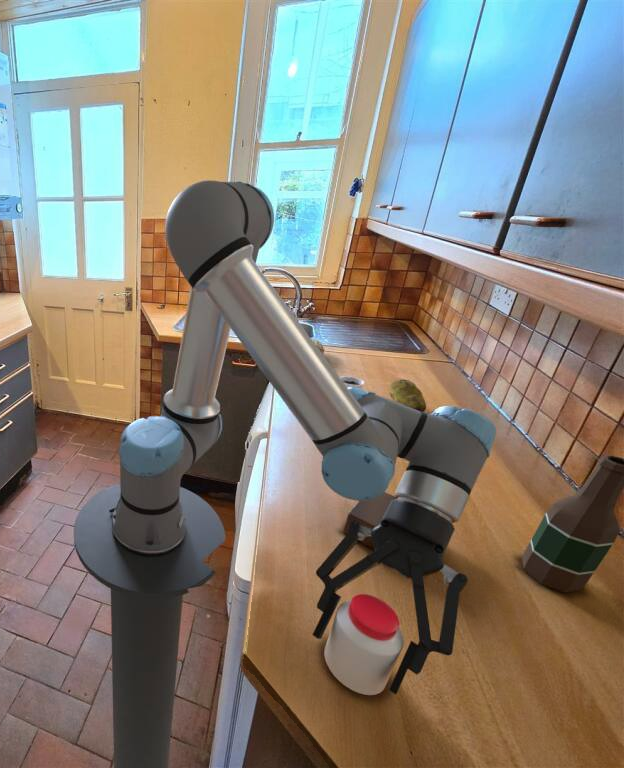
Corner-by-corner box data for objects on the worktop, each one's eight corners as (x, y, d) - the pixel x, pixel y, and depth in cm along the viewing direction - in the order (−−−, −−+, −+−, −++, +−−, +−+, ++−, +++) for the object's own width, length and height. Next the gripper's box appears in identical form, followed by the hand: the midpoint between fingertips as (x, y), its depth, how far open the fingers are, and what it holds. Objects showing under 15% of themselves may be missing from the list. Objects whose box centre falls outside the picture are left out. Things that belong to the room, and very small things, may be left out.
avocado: (392, 414, 123) (400, 391, 120) (383, 397, 134) (390, 374, 130) (425, 419, 120) (433, 395, 117) (413, 401, 131) (420, 378, 128)
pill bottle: (312, 643, 60) (328, 591, 55) (358, 633, 61) (377, 582, 57) (349, 701, 53) (370, 647, 49) (400, 688, 54) (425, 635, 50)
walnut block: (342, 532, 80) (348, 513, 78) (365, 504, 87) (370, 486, 85) (414, 570, 72) (422, 549, 70) (432, 535, 79) (440, 515, 77)
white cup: (330, 403, 130) (337, 375, 126) (354, 406, 128) (361, 377, 124) (333, 413, 124) (341, 383, 120) (358, 416, 122) (366, 386, 118)
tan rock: (317, 369, 159) (331, 346, 171) (316, 351, 156) (331, 329, 168) (283, 367, 168) (299, 345, 180) (281, 350, 165) (298, 329, 177)
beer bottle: (588, 581, 69) (667, 465, 59) (572, 602, 66) (652, 483, 56) (528, 550, 75) (590, 441, 65) (511, 568, 72) (573, 455, 62)
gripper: (521, 560, 52) (450, 729, 49) (345, 482, 67) (281, 608, 63) (534, 551, 47) (455, 740, 43) (339, 469, 61) (269, 606, 58)
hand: (352, 662), depth 53 cm, fingers open, 9 cm apart
